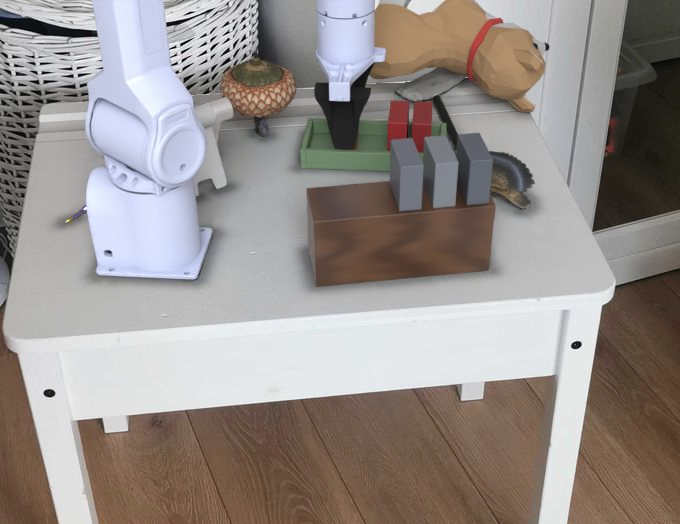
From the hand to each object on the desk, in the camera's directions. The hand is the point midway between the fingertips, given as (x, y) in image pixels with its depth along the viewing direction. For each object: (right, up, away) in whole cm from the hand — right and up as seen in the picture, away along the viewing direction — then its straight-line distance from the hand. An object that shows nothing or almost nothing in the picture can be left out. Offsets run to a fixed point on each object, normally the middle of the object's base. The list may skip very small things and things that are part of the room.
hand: (346, 132), depth 106 cm
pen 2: (+12, +1, +4) cm, 12 cm away
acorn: (-10, +1, +5) cm, 11 cm away
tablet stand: (-16, -5, -2) cm, 17 cm away
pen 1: (-23, -7, -6) cm, 25 cm away
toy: (+5, +17, +12) cm, 21 cm away
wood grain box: (+5, -15, -14) cm, 21 cm away
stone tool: (+9, +10, +15) cm, 20 cm away
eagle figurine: (+14, -9, -6) cm, 17 cm away
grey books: (+8, -9, -18) cm, 22 cm away
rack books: (+7, -2, +1) cm, 7 cm away
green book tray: (+3, -2, +1) cm, 4 cm away
